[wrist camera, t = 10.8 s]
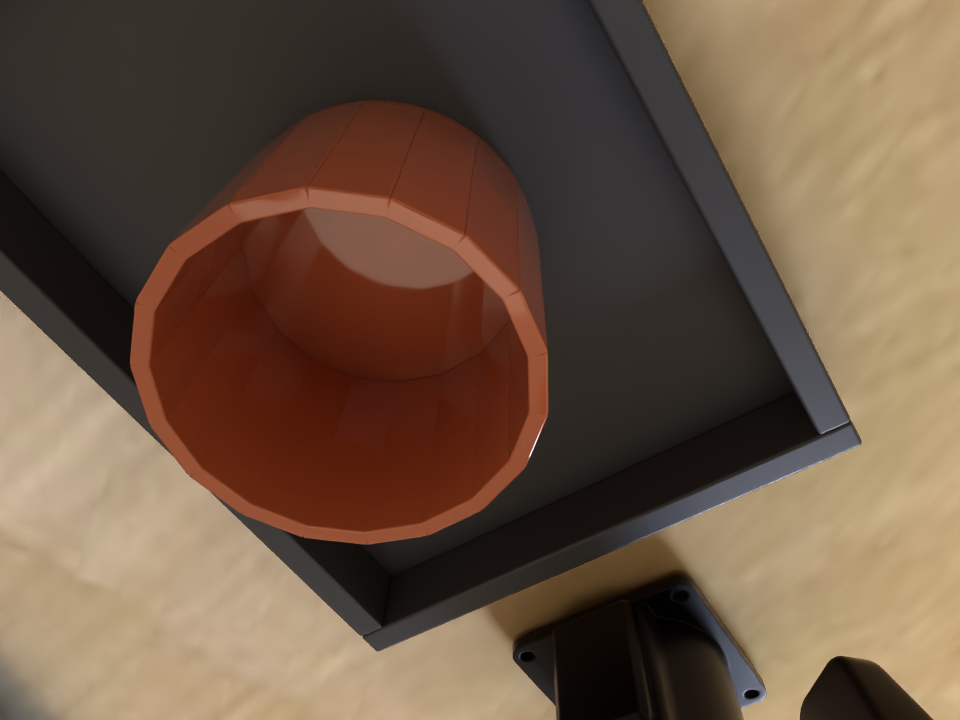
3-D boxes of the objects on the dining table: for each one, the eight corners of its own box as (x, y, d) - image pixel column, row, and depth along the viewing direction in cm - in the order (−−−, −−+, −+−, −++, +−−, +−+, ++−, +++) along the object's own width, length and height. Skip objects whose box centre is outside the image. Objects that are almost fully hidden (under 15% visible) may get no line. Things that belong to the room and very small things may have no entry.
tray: (827, 388, 21) (863, 445, 19) (388, 589, 25) (377, 653, 23) (394, -470, 13) (371, -544, 11) (-142, 45, 17) (-235, 67, 15)
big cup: (593, 296, 19) (624, 443, 14) (357, 423, 21) (309, 593, 16) (425, 29, 16) (386, 93, 11) (170, 210, 18) (39, 333, 13)
